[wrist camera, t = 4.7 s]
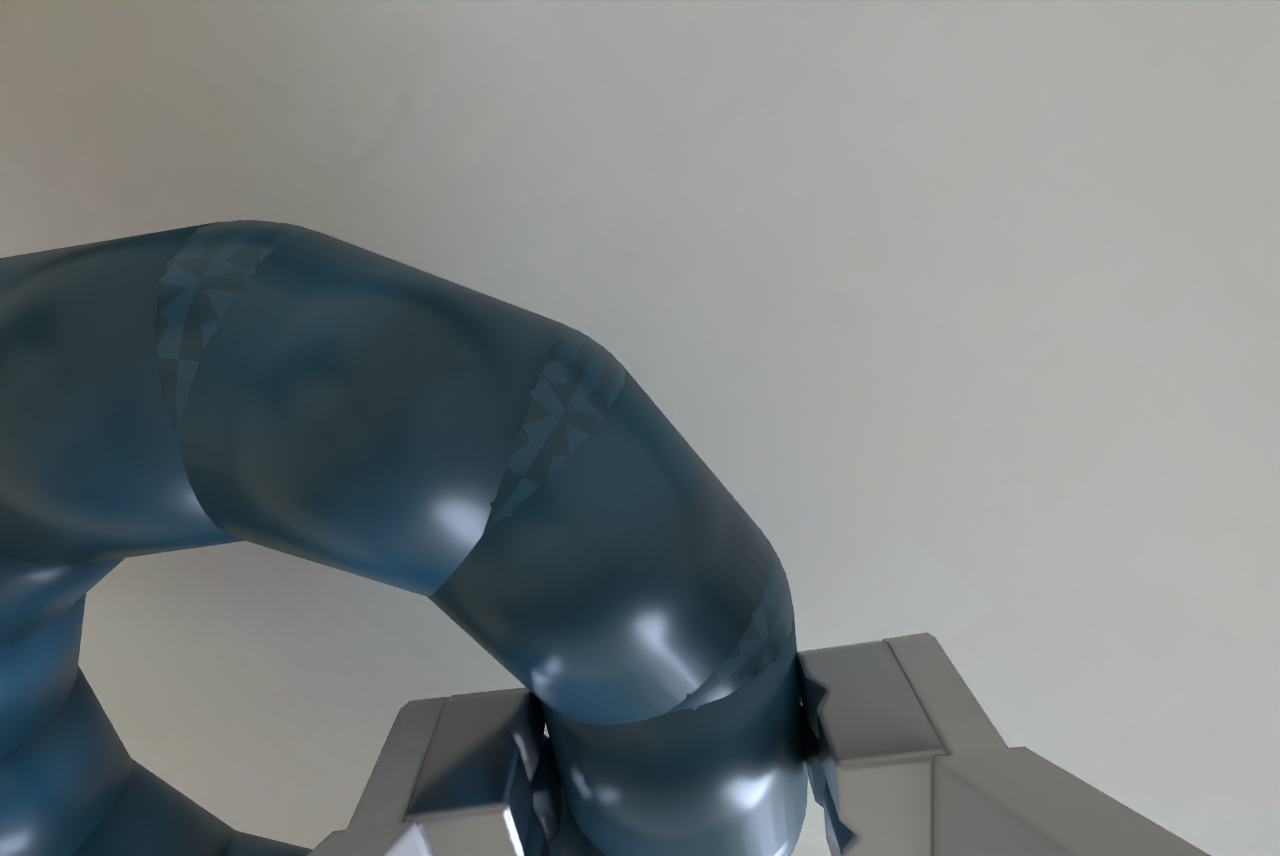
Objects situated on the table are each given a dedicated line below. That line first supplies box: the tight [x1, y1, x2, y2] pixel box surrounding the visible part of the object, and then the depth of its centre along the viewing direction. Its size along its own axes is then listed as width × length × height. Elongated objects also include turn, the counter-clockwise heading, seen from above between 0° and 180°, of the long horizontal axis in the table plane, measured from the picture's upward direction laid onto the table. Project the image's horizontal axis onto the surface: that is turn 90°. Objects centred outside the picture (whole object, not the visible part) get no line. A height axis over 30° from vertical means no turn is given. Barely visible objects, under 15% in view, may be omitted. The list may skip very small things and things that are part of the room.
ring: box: [0, 220, 808, 856], centre depth 8 cm, size 12×12×3 cm
